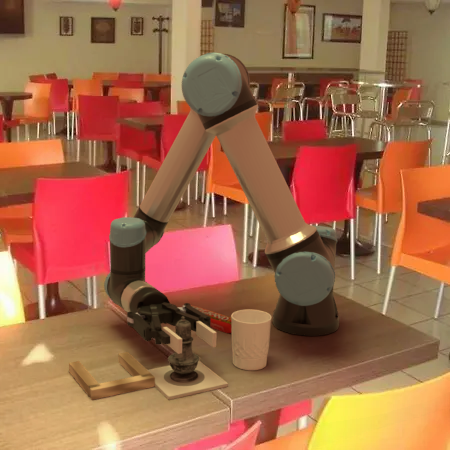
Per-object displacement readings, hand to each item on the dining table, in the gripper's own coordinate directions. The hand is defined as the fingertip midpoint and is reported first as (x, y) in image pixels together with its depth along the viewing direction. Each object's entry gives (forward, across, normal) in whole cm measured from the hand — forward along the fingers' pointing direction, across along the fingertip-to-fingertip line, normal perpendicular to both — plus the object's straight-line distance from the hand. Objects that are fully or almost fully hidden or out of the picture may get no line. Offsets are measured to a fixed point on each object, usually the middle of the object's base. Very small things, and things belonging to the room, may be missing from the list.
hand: (197, 342), depth 128 cm
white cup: (-6, -15, -10) cm, 19 cm away
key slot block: (-12, +12, -9) cm, 19 cm away
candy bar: (-29, -18, -10) cm, 35 cm away
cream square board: (-5, 0, -9) cm, 11 cm away
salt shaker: (-5, 0, -9) cm, 10 cm away
